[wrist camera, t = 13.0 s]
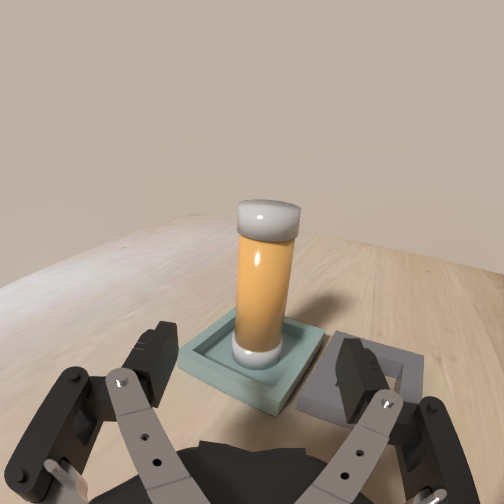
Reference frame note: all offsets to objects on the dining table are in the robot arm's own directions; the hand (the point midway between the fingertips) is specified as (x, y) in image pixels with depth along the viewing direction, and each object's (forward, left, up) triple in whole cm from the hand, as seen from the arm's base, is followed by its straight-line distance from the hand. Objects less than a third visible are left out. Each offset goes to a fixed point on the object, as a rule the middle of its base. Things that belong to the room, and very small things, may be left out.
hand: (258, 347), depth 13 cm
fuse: (-9, -5, -9) cm, 14 cm away
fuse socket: (-10, +6, -10) cm, 16 cm away
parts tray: (-9, -5, -10) cm, 14 cm away
